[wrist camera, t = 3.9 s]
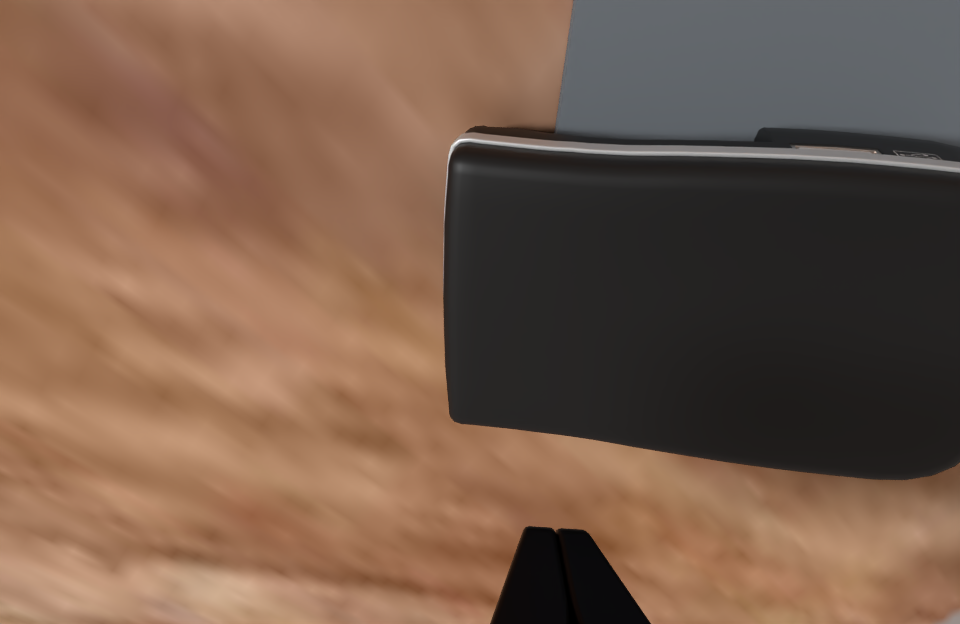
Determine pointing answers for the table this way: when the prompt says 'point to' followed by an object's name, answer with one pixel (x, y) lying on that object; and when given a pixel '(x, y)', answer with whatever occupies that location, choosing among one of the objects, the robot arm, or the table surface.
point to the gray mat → (761, 68)
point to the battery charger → (710, 295)
